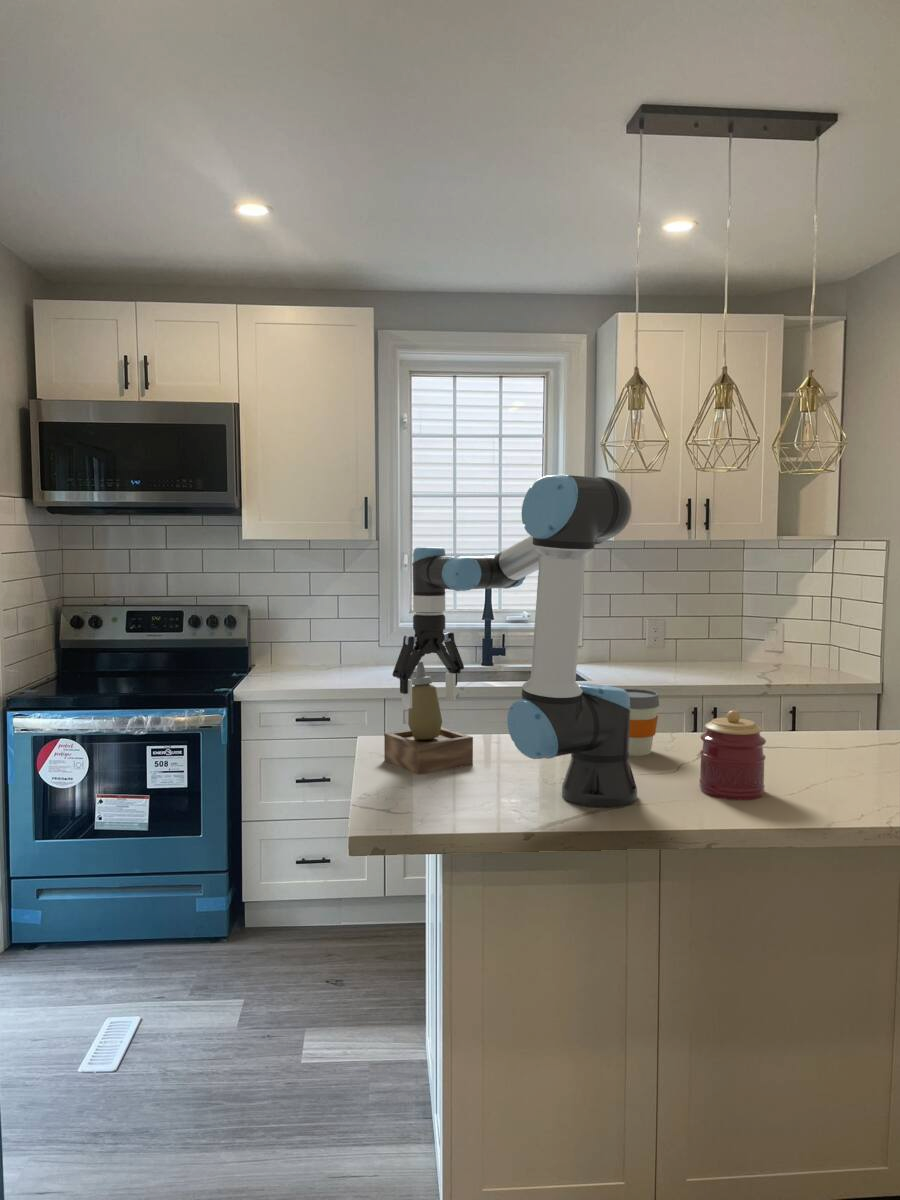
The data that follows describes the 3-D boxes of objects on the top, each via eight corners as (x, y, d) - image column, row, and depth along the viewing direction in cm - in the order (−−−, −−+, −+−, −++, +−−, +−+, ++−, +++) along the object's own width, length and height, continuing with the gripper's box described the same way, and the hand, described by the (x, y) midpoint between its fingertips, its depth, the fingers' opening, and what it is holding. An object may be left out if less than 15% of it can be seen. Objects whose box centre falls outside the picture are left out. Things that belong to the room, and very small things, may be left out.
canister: (775, 794, 182) (777, 710, 181) (746, 807, 173) (749, 719, 172) (717, 781, 191) (719, 702, 190) (687, 794, 182) (689, 710, 181)
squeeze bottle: (441, 739, 201) (435, 661, 202) (407, 741, 202) (400, 664, 202) (445, 735, 209) (438, 660, 210) (411, 737, 210) (405, 662, 210)
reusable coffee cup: (595, 751, 218) (596, 691, 217) (630, 744, 225) (631, 686, 224) (633, 761, 208) (635, 699, 207) (668, 754, 215) (670, 694, 214)
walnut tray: (472, 767, 204) (472, 737, 203) (419, 777, 195) (419, 745, 195) (436, 754, 216) (436, 725, 216) (384, 763, 207) (384, 733, 207)
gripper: (457, 609, 214) (457, 695, 216) (376, 615, 197) (377, 708, 199) (478, 611, 209) (478, 699, 210) (398, 617, 192) (398, 713, 193)
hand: (429, 703), depth 204 cm, fingers open, 13 cm apart
